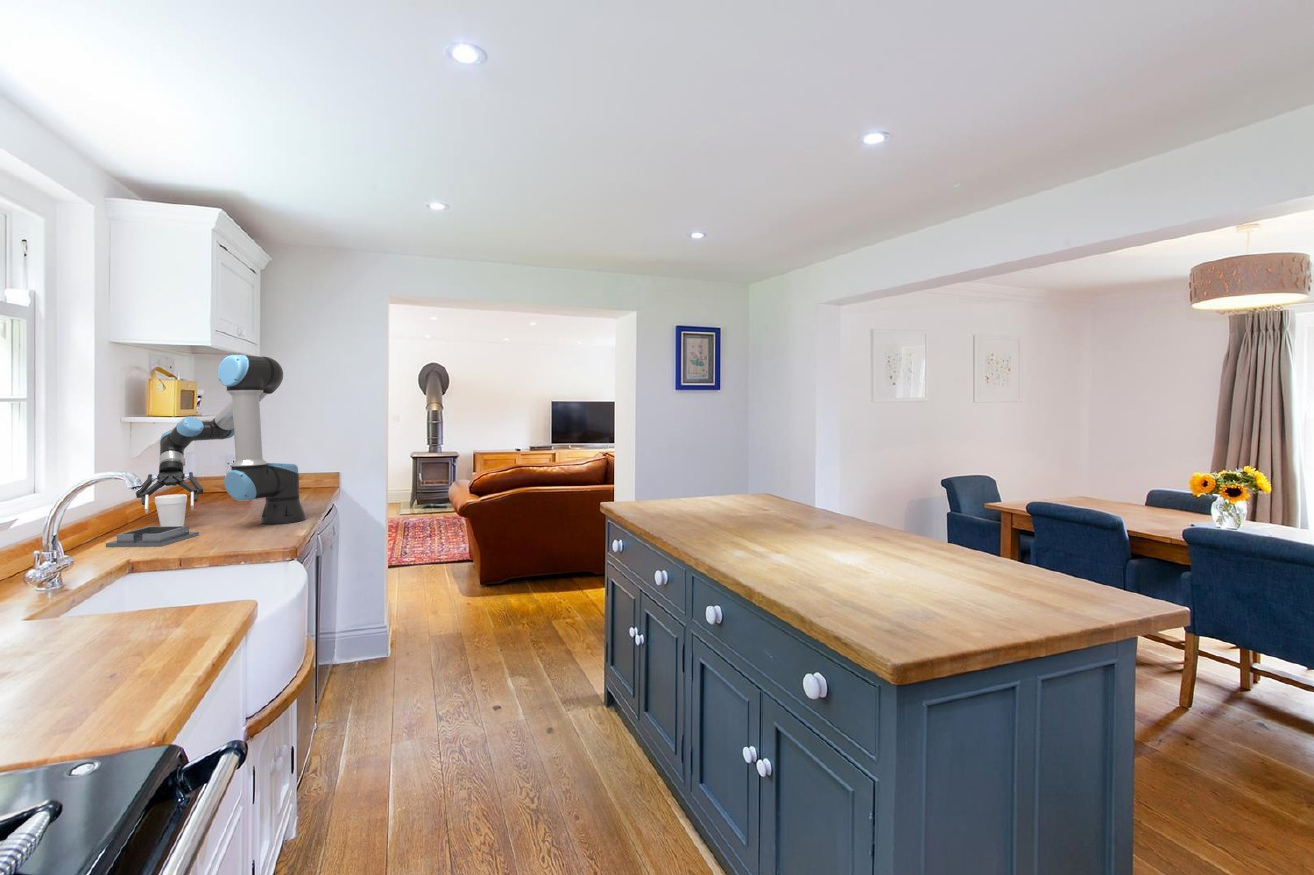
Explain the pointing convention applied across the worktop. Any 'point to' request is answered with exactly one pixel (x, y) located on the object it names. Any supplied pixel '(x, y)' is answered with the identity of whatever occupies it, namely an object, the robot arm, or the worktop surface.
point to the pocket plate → (152, 536)
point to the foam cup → (171, 509)
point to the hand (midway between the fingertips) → (169, 509)
